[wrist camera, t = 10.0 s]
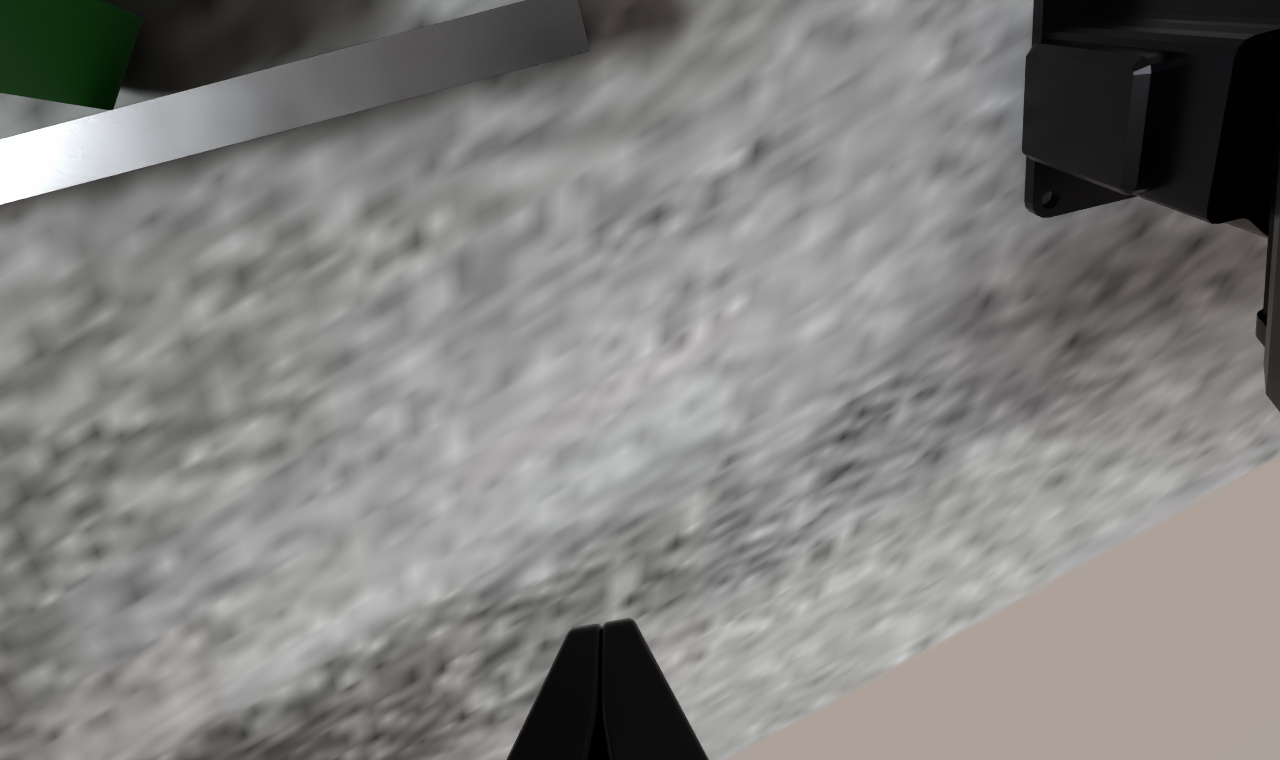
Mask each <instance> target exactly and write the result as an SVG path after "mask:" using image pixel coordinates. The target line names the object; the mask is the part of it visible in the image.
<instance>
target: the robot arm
mask: <svg viewBox="0 0 1280 760" xmlns="http://www.w3.org/2000/svg"><path fill="white" fill-rule="evenodd" d="M1022 152H1023V153H1024V154H1025V155H1026V156H1027V157H1026V178H1025V200H1024V201H1025V207H1026V208H1027V209H1028V211H1029V212H1031V213H1033V214H1035V215H1037V216H1040V217H1042V218H1048V217H1053V216H1058V215H1062V214H1066V213H1070V212H1074V211H1078V210H1082V209H1087V208H1091V207H1095V206H1099V205H1103V204H1107V203H1112V202H1116V201H1120V200H1124V199H1128V198H1132V197H1136V196H1138V197H1141V198H1144V199H1147V200H1149V201H1152V202H1155V203H1157V204H1160V205H1163V206H1165V207H1168V208H1171V209H1174V210H1176V211H1179V212H1182V213H1184V214H1187V215H1190V216H1193V217H1195V218H1198V219H1201V220H1203V221H1206V222H1209V223H1211V224H1220V223H1227V224H1230V225H1233V226H1236V227H1238V228H1241V229H1244V230H1247V231H1249V232H1252V233H1255V234H1258V235H1261V236H1263V237H1266V238H1268V249H1267V263H1266V277H1265V292H1264V306H1263V309H1262V310H1260V311H1259V312H1258V313H1257V321H1256V337H1257V338H1258V339H1259V340H1260V342H1261V343H1262V344H1263V345H1264V347H1265V354H1264V373H1265V387H1266V395H1267V396H1268V397H1269V399H1270V400H1271V401H1272V402H1273V404H1274V405H1275V406H1276V408H1277V409H1278V410H1279V412H1280V0H1034V9H1033V30H1032V48H1031V50H1030V51H1029V53H1028V54H1027V56H1026V68H1025V91H1024V114H1023V137H1022ZM1050 191H1051V192H1052V195H1051V198H1050V200H1049V201H1048V202H1047V203H1045V204H1043V205H1042V203H1041V202H1042V198H1043V196H1044V195H1045V194H1046V193H1047V192H1050ZM507 760H709V759H708V757H707V755H706V754H705V752H704V750H703V748H702V746H701V744H700V742H699V740H698V739H697V737H696V735H695V733H694V731H693V729H692V727H691V725H690V724H689V722H688V720H687V718H686V716H685V714H684V712H683V710H682V709H681V707H680V705H679V703H678V701H677V699H676V697H675V695H674V694H673V692H672V690H671V688H670V686H669V684H668V682H667V680H666V679H665V677H664V675H663V673H662V671H661V669H660V667H659V665H658V664H657V662H656V660H655V658H654V656H653V654H652V652H651V651H650V649H649V647H648V645H647V643H646V641H645V639H644V637H643V636H642V634H641V632H640V630H639V628H638V626H637V624H636V623H635V621H634V620H633V619H631V618H627V619H621V620H615V621H610V622H606V623H605V624H604V625H603V627H601V625H599V624H592V625H586V626H581V627H575V628H572V629H571V630H570V631H569V632H568V634H567V636H566V637H565V640H564V642H563V644H562V646H561V648H560V650H559V652H558V654H557V656H556V658H555V660H554V662H553V664H552V667H551V669H550V671H549V673H548V675H547V677H546V679H545V681H544V683H543V685H542V687H541V689H540V691H539V694H538V696H537V698H536V700H535V702H534V704H533V706H532V708H531V710H530V712H529V714H528V716H527V718H526V720H525V723H524V725H523V727H522V729H521V731H520V733H519V735H518V737H517V739H516V741H515V743H514V745H513V747H512V750H511V752H510V754H509V756H508V758H507Z"/></svg>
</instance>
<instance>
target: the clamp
mask: <svg viewBox="0 0 1280 760" xmlns="http://www.w3.org/2000/svg"><path fill="white" fill-rule="evenodd" d="M142 20H143V19H141V18H140V17H138V16H136V15H134V14H132V13H130V12H128V11H126V10H124V9H122V8H120V7H118V6H116V5H114V4H112V3H110V2H108V1H106V0H0V93H5V94H12V95H18V96H24V97H30V98H36V99H43V100H49V101H55V102H61V103H68V104H74V105H80V106H86V107H92V108H99V109H105V110H113V109H114V106H115V103H116V99H117V96H118V93H119V90H120V87H121V84H122V81H123V78H124V75H125V72H126V69H127V66H128V63H129V60H130V57H131V54H132V51H133V48H134V45H135V41H136V38H137V35H138V32H139V29H140V26H141V23H142Z"/></svg>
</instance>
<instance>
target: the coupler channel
mask: <svg viewBox="0 0 1280 760" xmlns="http://www.w3.org/2000/svg"><path fill="white" fill-rule="evenodd" d="M588 51H589V43H588V39H587V35H586V31H585V27H584V22H583V18H582V14H581V10H580V6H579V2H578V0H525V1H521V2H518V3H514V4H510V5H506V6H503V7H499V8H495V9H491V10H488V11H484V12H480V13H476V14H472V15H469V16H465V17H461V18H457V19H454V20H450V21H446V22H442V23H438V24H435V25H431V26H427V27H423V28H420V29H416V30H412V31H408V32H405V33H401V34H397V35H393V36H389V37H386V38H382V39H378V40H374V41H371V42H367V43H363V44H359V45H356V46H352V47H348V48H344V49H340V50H337V51H333V52H329V53H325V54H322V55H318V56H314V57H310V58H307V59H303V60H299V61H295V62H291V63H288V64H284V65H280V66H276V67H273V68H269V69H265V70H261V71H257V72H254V73H250V74H246V75H242V76H239V77H235V78H231V79H227V80H224V81H220V82H216V83H212V84H208V85H205V86H201V87H197V88H193V89H190V90H186V91H182V92H178V93H175V94H171V95H167V96H163V97H159V98H156V99H152V100H148V101H144V102H141V103H137V104H133V105H129V106H125V107H122V108H118V109H114V110H110V111H107V112H103V113H99V114H95V115H92V116H88V117H84V118H80V119H76V120H73V121H69V122H65V123H61V124H58V125H54V126H50V127H46V128H43V129H39V130H35V131H31V132H27V133H24V134H20V135H16V136H12V137H9V138H5V139H1V140H0V205H1V204H5V203H9V202H12V201H16V200H20V199H24V198H28V197H32V196H35V195H39V194H43V193H47V192H51V191H55V190H58V189H62V188H66V187H70V186H74V185H78V184H81V183H85V182H89V181H93V180H97V179H101V178H105V177H108V176H112V175H116V174H120V173H124V172H128V171H131V170H135V169H139V168H143V167H147V166H151V165H154V164H158V163H162V162H166V161H170V160H174V159H177V158H181V157H185V156H189V155H193V154H197V153H201V152H204V151H208V150H212V149H216V148H220V147H224V146H227V145H231V144H235V143H239V142H243V141H247V140H250V139H254V138H258V137H262V136H266V135H270V134H273V133H277V132H281V131H285V130H289V129H293V128H297V127H300V126H304V125H308V124H312V123H316V122H320V121H323V120H327V119H331V118H335V117H339V116H343V115H346V114H350V113H354V112H358V111H362V110H366V109H369V108H373V107H377V106H381V105H385V104H389V103H393V102H396V101H400V100H404V99H408V98H412V97H416V96H419V95H423V94H427V93H431V92H435V91H439V90H442V89H446V88H450V87H454V86H458V85H462V84H466V83H469V82H473V81H477V80H481V79H485V78H489V77H492V76H496V75H500V74H504V73H508V72H512V71H515V70H519V69H523V68H527V67H531V66H535V65H538V64H542V63H546V62H550V61H554V60H558V59H562V58H565V57H569V56H573V55H577V54H581V53H585V52H588Z"/></svg>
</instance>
